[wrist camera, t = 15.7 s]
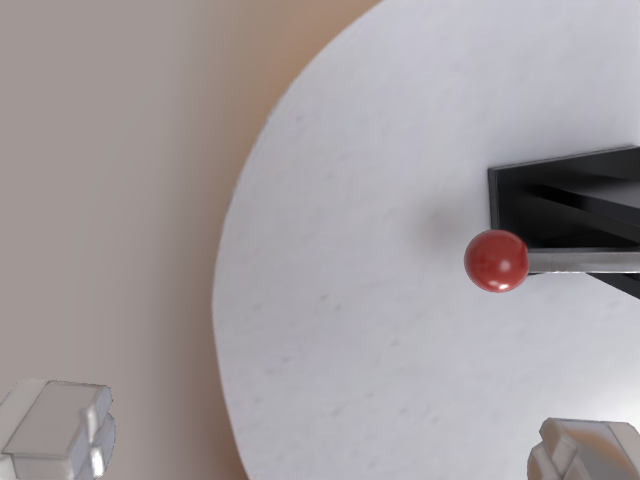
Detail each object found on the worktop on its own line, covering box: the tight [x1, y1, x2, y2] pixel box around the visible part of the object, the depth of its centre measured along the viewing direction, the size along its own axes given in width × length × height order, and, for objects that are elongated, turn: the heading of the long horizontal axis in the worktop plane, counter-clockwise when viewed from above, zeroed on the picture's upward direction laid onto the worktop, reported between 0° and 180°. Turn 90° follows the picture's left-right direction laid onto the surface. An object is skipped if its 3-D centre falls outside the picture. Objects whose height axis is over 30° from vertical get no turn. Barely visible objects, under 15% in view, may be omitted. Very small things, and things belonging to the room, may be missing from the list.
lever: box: [464, 229, 640, 293], centre depth 28 cm, size 13×4×4 cm
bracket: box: [488, 146, 640, 299], centre depth 31 cm, size 11×8×15 cm
